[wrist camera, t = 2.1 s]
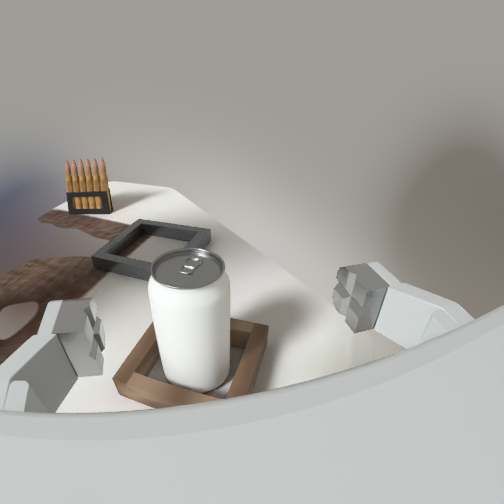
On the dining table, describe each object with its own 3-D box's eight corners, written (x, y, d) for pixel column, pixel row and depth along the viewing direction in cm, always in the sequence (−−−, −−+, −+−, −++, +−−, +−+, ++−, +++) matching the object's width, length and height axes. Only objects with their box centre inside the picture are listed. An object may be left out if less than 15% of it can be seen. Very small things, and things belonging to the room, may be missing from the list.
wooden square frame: (119, 394, 25) (112, 378, 24) (168, 320, 35) (166, 303, 34) (237, 432, 23) (238, 419, 22) (266, 342, 33) (268, 325, 32)
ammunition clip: (113, 210, 63) (107, 156, 57) (110, 214, 61) (104, 158, 55) (72, 211, 62) (65, 159, 56) (68, 214, 61) (61, 162, 55)
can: (154, 385, 27) (128, 281, 21) (178, 340, 32) (167, 240, 26) (219, 403, 26) (215, 299, 20) (236, 353, 31) (240, 251, 25)
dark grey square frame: (93, 267, 43) (91, 255, 42) (139, 228, 55) (138, 218, 54) (174, 286, 41) (172, 274, 40) (210, 240, 53) (210, 229, 52)
